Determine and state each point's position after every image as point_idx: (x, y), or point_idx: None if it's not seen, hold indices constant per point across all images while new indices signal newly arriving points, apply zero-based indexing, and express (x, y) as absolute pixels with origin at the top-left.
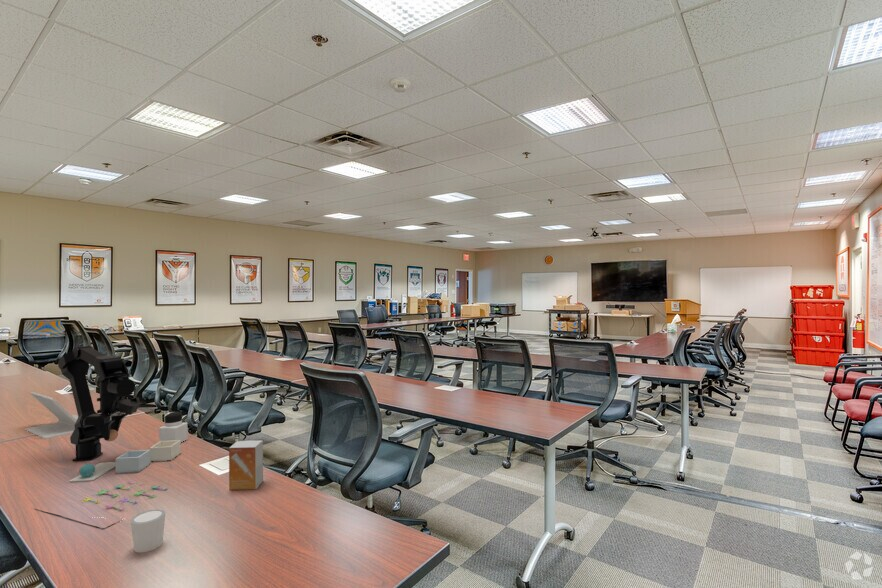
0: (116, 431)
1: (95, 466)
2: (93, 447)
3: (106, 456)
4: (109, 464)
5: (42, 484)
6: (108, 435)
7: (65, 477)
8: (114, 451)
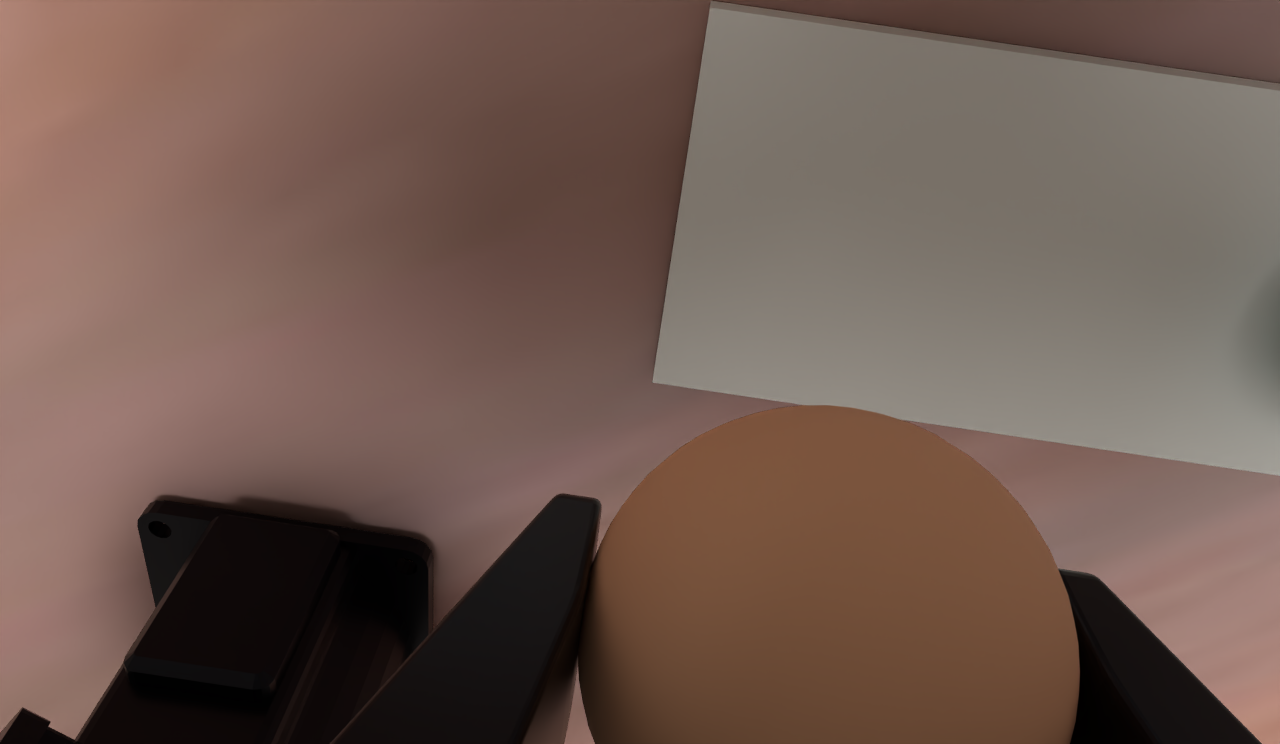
0: (836, 615)
1: (832, 381)
2: (297, 683)
3: (278, 406)
4: (817, 186)
5: (1256, 723)
6: (1220, 714)
7: (1116, 591)
8: (35, 378)
